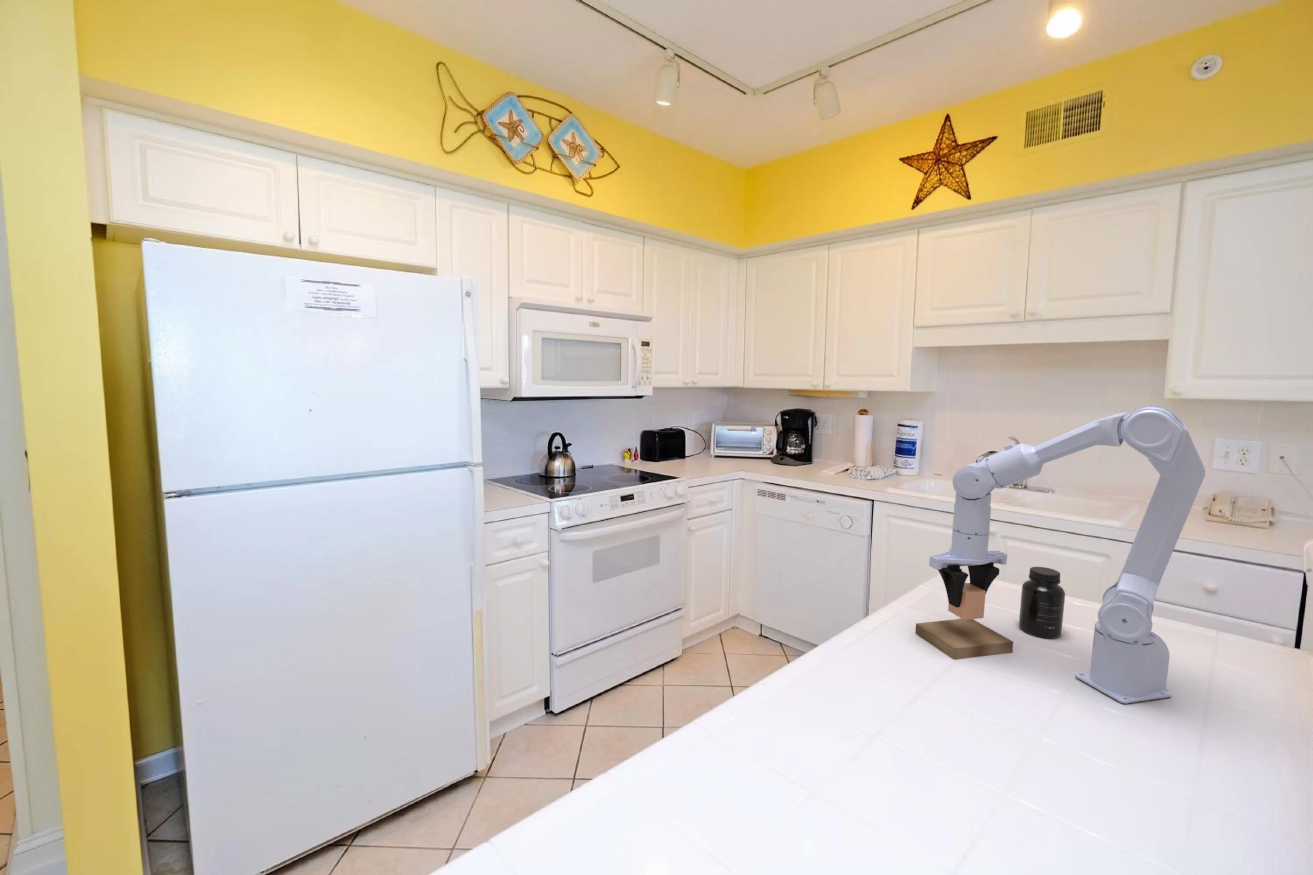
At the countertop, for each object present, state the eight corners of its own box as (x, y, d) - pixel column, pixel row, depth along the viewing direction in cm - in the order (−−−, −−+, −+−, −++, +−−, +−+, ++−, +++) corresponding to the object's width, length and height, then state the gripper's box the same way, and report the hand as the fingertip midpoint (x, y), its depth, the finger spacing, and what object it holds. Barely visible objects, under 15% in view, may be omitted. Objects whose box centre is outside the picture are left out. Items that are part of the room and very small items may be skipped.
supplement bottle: (1011, 622, 113) (1016, 563, 112) (1049, 624, 113) (1054, 565, 111) (1029, 638, 107) (1034, 575, 105) (1069, 640, 106) (1075, 577, 104)
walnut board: (969, 630, 111) (970, 617, 111) (1012, 655, 101) (1013, 641, 101) (915, 636, 108) (916, 623, 108) (953, 662, 99) (954, 648, 98)
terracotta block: (966, 608, 106) (968, 582, 106) (983, 618, 102) (985, 590, 102) (948, 610, 105) (950, 584, 105) (964, 619, 101) (966, 592, 101)
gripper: (987, 522, 108) (982, 592, 109) (920, 526, 105) (915, 598, 106) (1019, 533, 101) (1012, 607, 103) (947, 538, 98) (942, 614, 99)
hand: (965, 604), depth 104 cm, fingers closed on terracotta block, 4 cm apart
